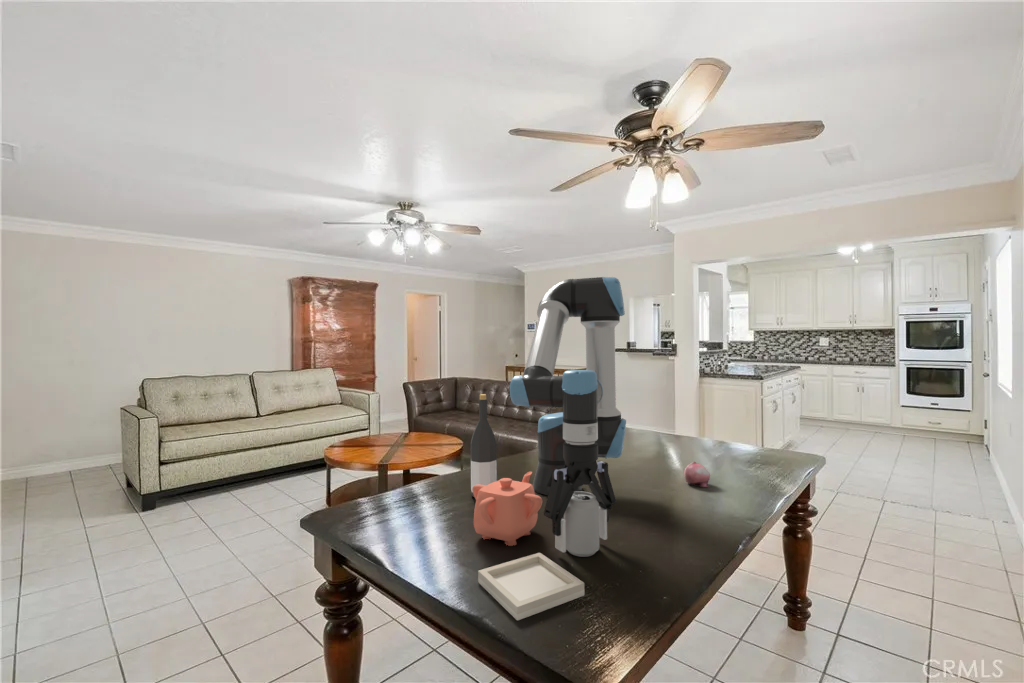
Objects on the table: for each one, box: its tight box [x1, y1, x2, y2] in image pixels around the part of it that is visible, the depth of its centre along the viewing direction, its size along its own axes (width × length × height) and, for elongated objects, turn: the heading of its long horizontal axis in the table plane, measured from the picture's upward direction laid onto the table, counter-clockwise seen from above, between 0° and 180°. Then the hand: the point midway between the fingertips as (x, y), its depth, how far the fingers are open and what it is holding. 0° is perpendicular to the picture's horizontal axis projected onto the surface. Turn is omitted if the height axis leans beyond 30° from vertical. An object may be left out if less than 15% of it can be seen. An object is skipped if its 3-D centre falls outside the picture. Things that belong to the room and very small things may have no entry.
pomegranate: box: [684, 461, 711, 488], centre depth 142 cm, size 8×8×7 cm
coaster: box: [477, 552, 586, 621], centre depth 83 cm, size 14×14×2 cm
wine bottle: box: [470, 393, 498, 497], centre depth 135 cm, size 8×8×30 cm
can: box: [563, 490, 600, 558], centre depth 98 cm, size 8×8×12 cm
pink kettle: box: [472, 471, 543, 547], centre depth 107 cm, size 17×16×13 cm
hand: (581, 543), depth 98 cm, fingers open, 11 cm apart
